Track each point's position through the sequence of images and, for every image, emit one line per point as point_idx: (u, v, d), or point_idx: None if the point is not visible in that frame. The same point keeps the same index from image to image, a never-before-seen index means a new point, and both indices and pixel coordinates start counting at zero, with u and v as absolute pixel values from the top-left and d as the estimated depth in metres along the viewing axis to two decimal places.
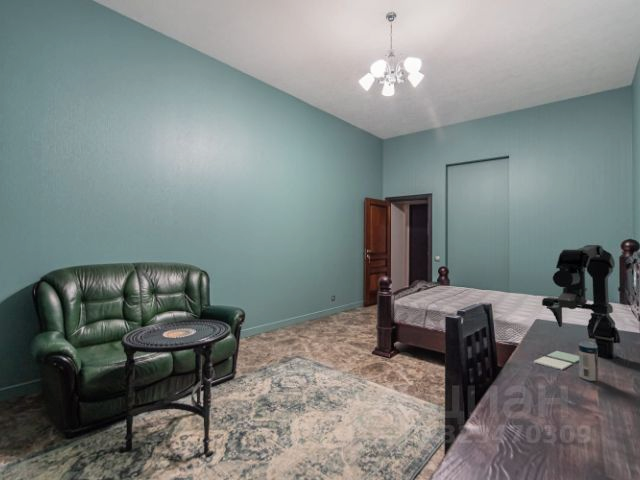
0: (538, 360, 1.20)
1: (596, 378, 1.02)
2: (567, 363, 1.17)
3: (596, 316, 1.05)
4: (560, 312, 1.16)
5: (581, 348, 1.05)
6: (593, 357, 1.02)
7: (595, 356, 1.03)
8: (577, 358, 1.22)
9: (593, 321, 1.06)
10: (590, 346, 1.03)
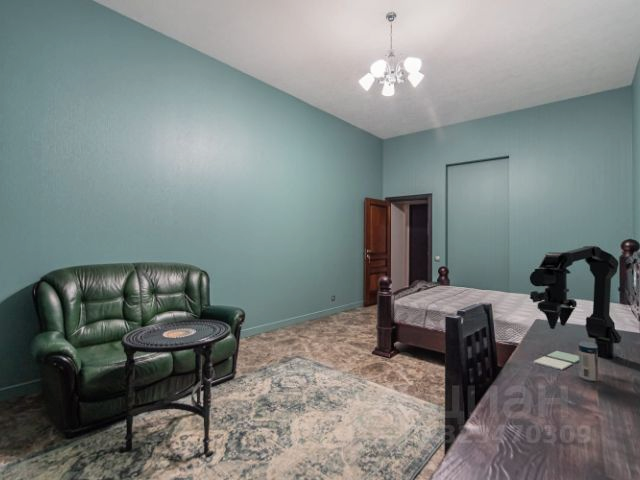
0: (538, 360, 1.20)
1: (596, 378, 1.02)
2: (567, 363, 1.17)
3: None
4: (566, 312, 1.21)
5: (581, 348, 1.05)
6: (593, 357, 1.02)
7: (595, 356, 1.03)
8: (577, 358, 1.22)
9: None
10: (590, 346, 1.03)
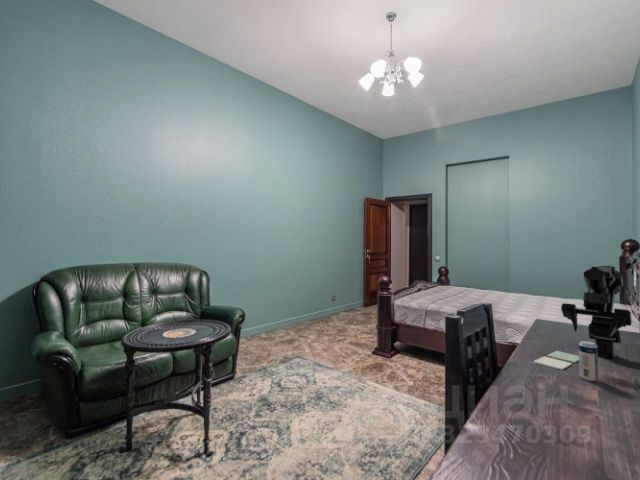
0: (538, 360, 1.20)
1: (596, 378, 1.02)
2: (567, 363, 1.17)
3: (618, 318, 1.07)
4: (576, 320, 1.17)
5: (581, 348, 1.05)
6: (593, 357, 1.02)
7: (595, 356, 1.03)
8: (577, 358, 1.22)
9: (613, 324, 1.08)
10: (590, 346, 1.03)
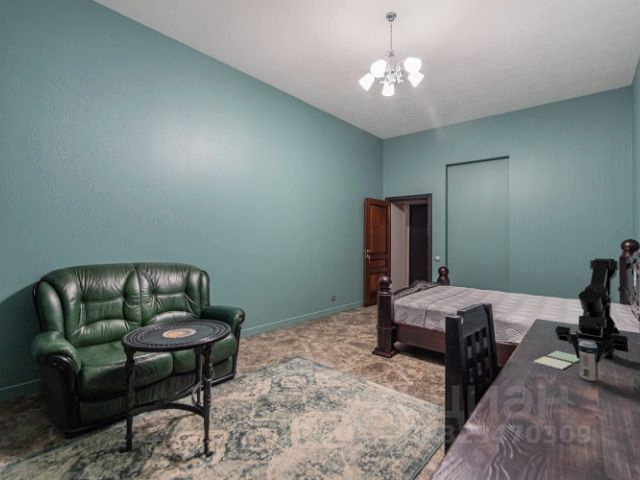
0: (538, 360, 1.20)
1: (596, 378, 1.02)
2: (567, 363, 1.17)
3: (606, 343, 1.02)
4: None
5: (581, 348, 1.05)
6: (593, 357, 1.02)
7: (595, 356, 1.03)
8: None
9: (601, 349, 1.03)
10: (590, 346, 1.03)
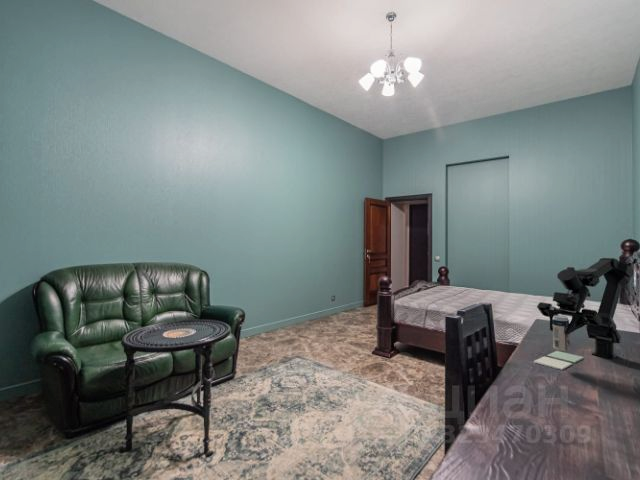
0: (538, 360, 1.20)
1: (566, 348, 1.12)
2: (567, 363, 1.17)
3: (576, 317, 1.11)
4: None
5: (553, 321, 1.15)
6: (562, 329, 1.12)
7: (565, 328, 1.12)
8: (577, 358, 1.22)
9: (572, 322, 1.12)
10: (560, 319, 1.13)
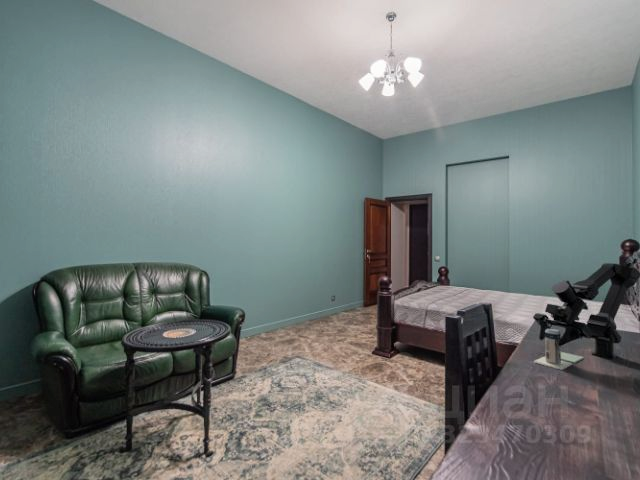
0: (538, 360, 1.20)
1: (556, 361, 1.16)
2: (567, 363, 1.17)
3: (569, 329, 1.14)
4: None
5: (545, 334, 1.19)
6: (553, 342, 1.17)
7: (555, 341, 1.16)
8: (577, 358, 1.22)
9: (565, 334, 1.15)
10: (551, 332, 1.17)
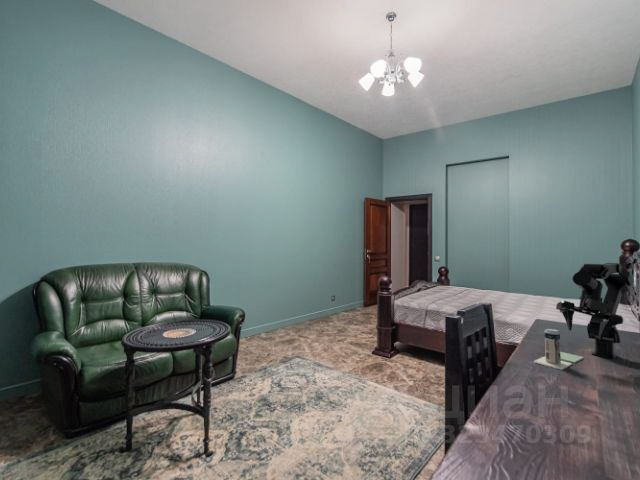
0: (538, 360, 1.20)
1: (556, 361, 1.16)
2: (567, 363, 1.17)
3: (612, 324, 1.14)
4: None
5: None
6: (553, 342, 1.17)
7: (555, 341, 1.16)
8: (577, 358, 1.22)
9: (605, 328, 1.15)
10: (551, 332, 1.17)
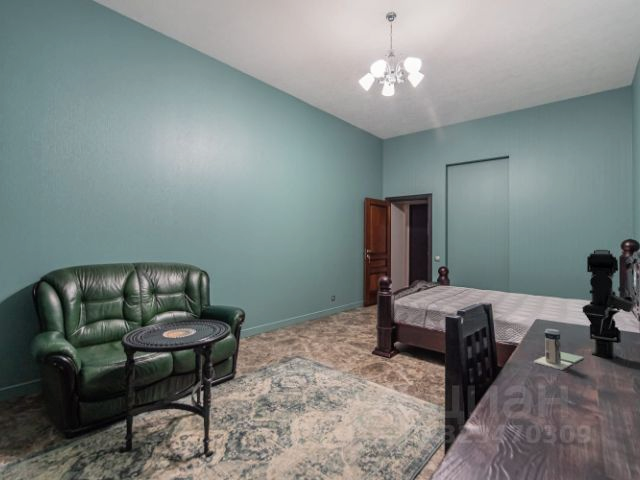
0: (538, 360, 1.20)
1: (556, 361, 1.16)
2: (567, 363, 1.17)
3: None
4: None
5: None
6: (553, 342, 1.17)
7: (555, 341, 1.16)
8: (577, 358, 1.22)
9: (612, 318, 1.16)
10: (551, 332, 1.17)
